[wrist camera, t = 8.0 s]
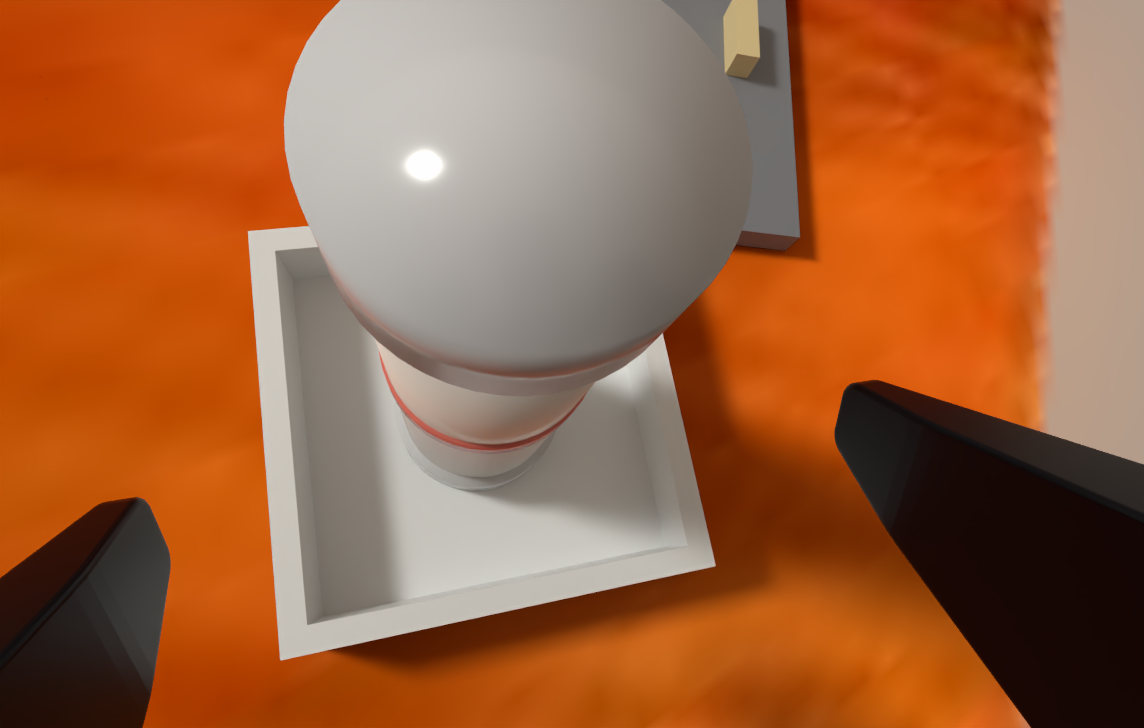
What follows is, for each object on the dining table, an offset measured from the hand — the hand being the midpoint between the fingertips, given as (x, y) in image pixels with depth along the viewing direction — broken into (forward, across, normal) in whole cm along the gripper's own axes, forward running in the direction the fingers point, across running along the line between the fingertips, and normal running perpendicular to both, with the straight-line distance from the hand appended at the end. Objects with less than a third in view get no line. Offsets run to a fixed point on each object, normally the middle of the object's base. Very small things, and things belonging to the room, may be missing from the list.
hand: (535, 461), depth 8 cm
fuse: (+9, 0, +5) cm, 10 cm away
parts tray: (+9, 0, +5) cm, 11 cm away
